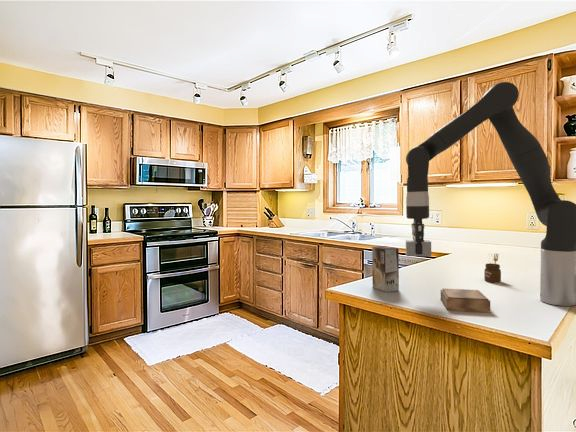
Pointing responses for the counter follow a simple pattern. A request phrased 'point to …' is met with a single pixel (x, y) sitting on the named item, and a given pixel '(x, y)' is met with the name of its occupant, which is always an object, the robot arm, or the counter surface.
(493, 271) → the utensil holder
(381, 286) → the coffee box
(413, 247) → the block
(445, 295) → the walnut stand
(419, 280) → the counter surface
